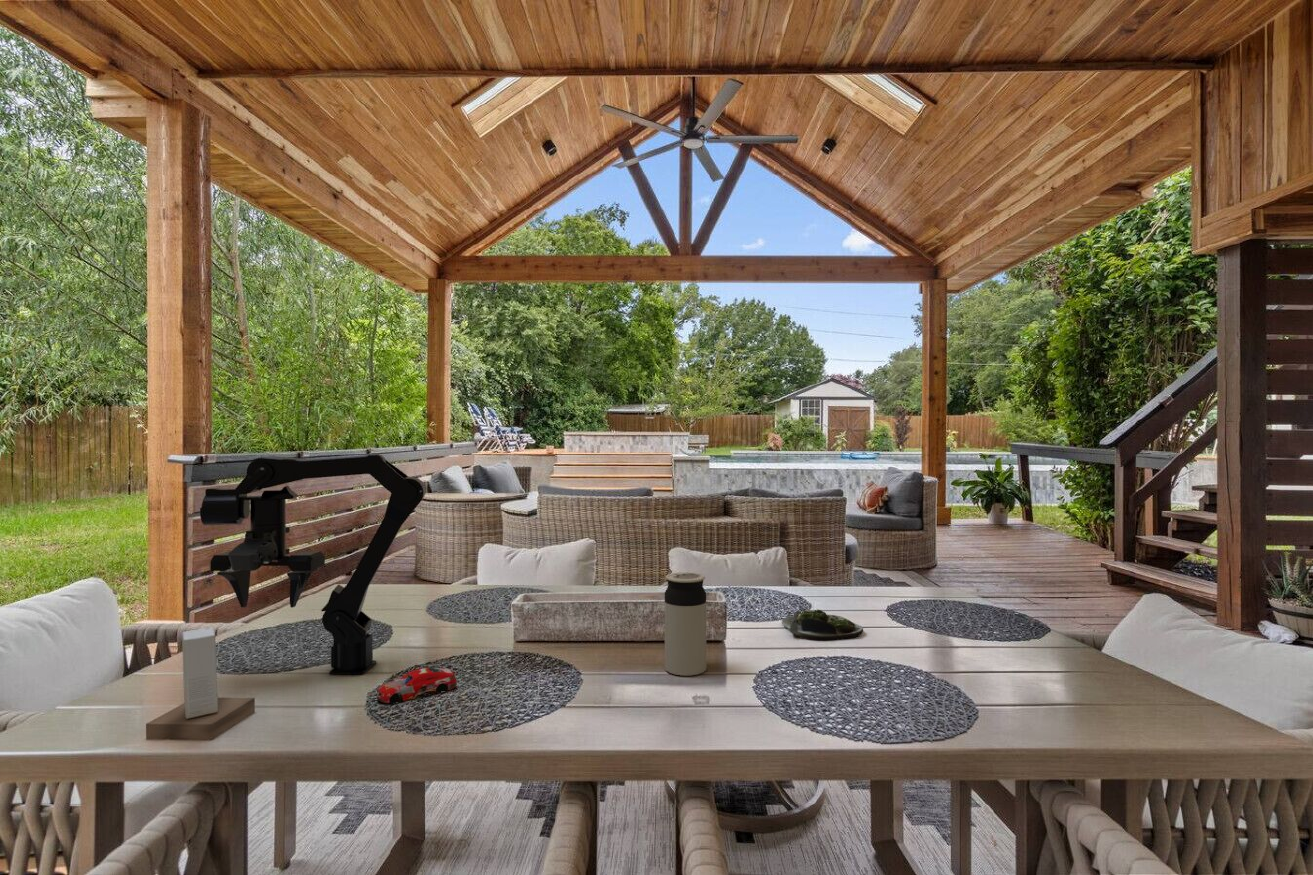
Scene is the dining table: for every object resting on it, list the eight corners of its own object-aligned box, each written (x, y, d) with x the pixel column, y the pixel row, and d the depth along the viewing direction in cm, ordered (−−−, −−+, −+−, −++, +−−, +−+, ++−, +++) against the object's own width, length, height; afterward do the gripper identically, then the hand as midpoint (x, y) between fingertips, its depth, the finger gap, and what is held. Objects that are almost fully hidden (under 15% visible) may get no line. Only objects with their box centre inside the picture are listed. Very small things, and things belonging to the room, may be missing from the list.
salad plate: (765, 620, 164) (765, 601, 164) (833, 616, 167) (833, 598, 167) (797, 644, 145) (796, 623, 145) (872, 639, 148) (872, 618, 148)
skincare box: (183, 707, 105) (181, 631, 105) (216, 700, 108) (214, 626, 108) (184, 719, 100) (182, 639, 100) (218, 712, 103) (216, 634, 103)
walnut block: (254, 716, 109) (254, 697, 109) (211, 744, 99) (211, 724, 99) (194, 715, 109) (194, 697, 109) (146, 743, 100) (145, 723, 99)
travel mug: (714, 669, 129) (714, 575, 129) (687, 680, 123) (687, 582, 123) (683, 659, 134) (683, 569, 134) (656, 670, 128) (655, 576, 128)
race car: (380, 709, 111) (380, 685, 111) (373, 698, 116) (373, 675, 115) (459, 691, 118) (459, 668, 118) (450, 682, 123) (450, 660, 123)
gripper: (188, 529, 117) (188, 618, 117) (294, 529, 117) (294, 618, 117) (229, 521, 128) (229, 602, 128) (326, 521, 128) (326, 603, 128)
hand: (268, 606), depth 125 cm, fingers open, 9 cm apart
